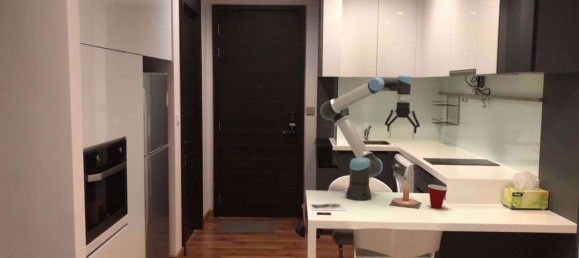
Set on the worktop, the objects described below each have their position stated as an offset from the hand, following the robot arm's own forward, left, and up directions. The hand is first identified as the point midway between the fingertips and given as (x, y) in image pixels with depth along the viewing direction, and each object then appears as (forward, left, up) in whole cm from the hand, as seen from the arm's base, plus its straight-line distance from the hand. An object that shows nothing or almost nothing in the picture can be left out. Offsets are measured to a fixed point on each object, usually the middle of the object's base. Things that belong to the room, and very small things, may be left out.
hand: (401, 138), depth 292 cm
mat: (+6, -11, -37) cm, 39 cm away
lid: (+6, -11, -36) cm, 38 cm away
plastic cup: (+23, -10, -37) cm, 44 cm away
